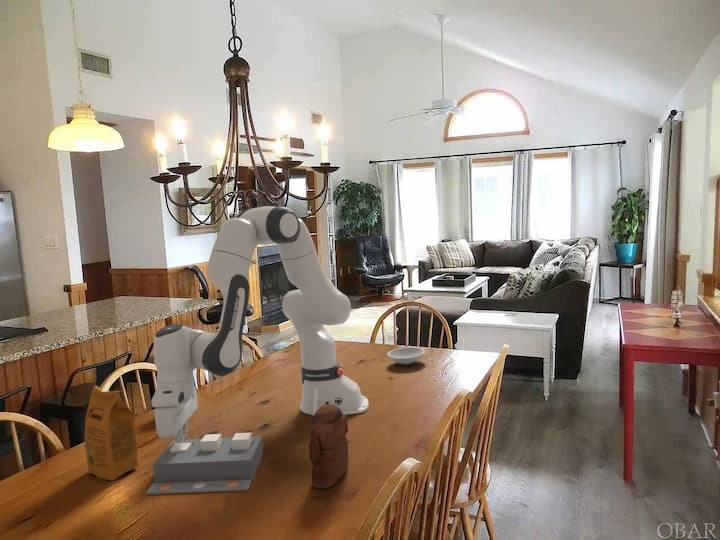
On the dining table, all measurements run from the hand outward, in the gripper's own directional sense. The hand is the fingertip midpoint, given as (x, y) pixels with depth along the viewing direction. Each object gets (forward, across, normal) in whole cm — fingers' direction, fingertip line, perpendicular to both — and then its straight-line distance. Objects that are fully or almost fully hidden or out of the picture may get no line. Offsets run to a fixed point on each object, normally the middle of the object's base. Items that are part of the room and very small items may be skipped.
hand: (181, 440), depth 141 cm
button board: (+7, +2, +8) cm, 11 cm away
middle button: (+4, 0, +8) cm, 9 cm away
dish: (+9, -83, +64) cm, 105 cm away
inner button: (+4, 0, +16) cm, 16 cm away
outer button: (+6, 0, 0) cm, 6 cm away
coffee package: (+7, +1, -18) cm, 20 cm away
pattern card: (+7, +12, +8) cm, 16 cm away
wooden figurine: (+8, +10, +39) cm, 41 cm away
